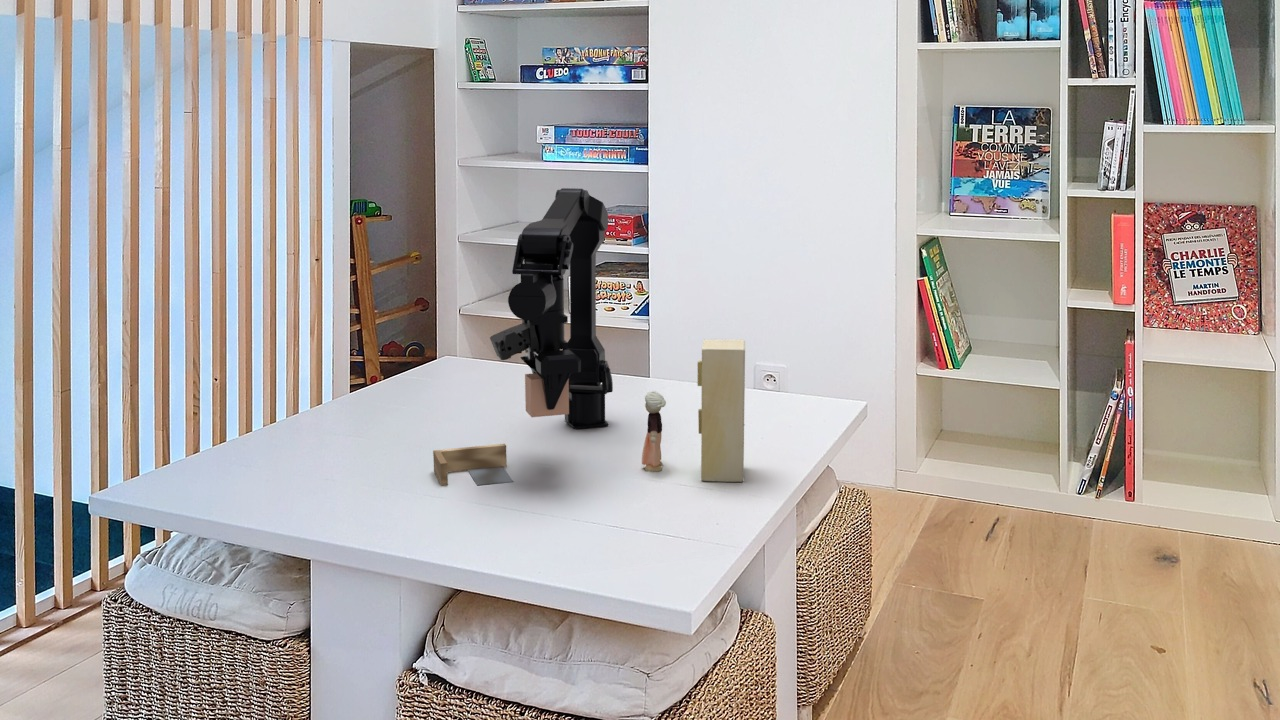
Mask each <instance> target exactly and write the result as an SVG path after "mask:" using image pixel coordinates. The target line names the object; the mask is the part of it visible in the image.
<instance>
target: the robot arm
mask: <svg viewBox="0 0 1280 720" xmlns="http://www.w3.org/2000/svg"><path fill="white" fill-rule="evenodd" d="M588 191H589V190H586V189H584V188H578V187H577V188H575V187H574V188H573V187H572V188H570V187H569V188H568V187H567V188H565V187H562V188H560V189H557V190H556V192H555V198H554V199H553V202H552V203H551V205H550V206H549V208H548V210H546V213H545V214H544V216H543V217H542V219H541V220H537V221H534V222H530V223H529V224H527V225H526V226H525V227H524V228H523V230H522V232H521V233H519V235H518V237H517V243H516V249H515V255H514V260H513V264H512V269H511V270H512V271H511V272H512V274H513V275H520V282H519V283H517V284H516V285H514V286H513V287H512V288H511V290H510V292H509V295H508V298H507V304H508V308H509V309H510V311H511V313H512V314H513V315H514V316H515V317H516V318H518V319H520V320H521V321H522V323H520V324H517V325H514V326H512V327H509V328H506V329H503V330H502V331H499V332H497V333H495V334H492V335H491V336H489V340H490V342H491V346H492V347H493V348H494V350H493V351H494V352H495V353H496V354H495V355H496V356H497V357H498V358H499V360H501V361H506V360H508V359H509V360H510V359H511V358H512V357H513V356H515V355H517V354H522V353H523V351H525V356H524V355H523V356H520V358H519V359H520V360H521V361H523V363H525V364H526V366H528V367H529V368H530V370H531V374H533V373H537V374H538V375H539V376H540V377H541V379H542V385H543V390H544V396H545V401H546V406H547V409H548V410H553V409H554V408H555V406H556V404H557V402H558V400H559V397H560V395H561V393H562V391H563V389H564V386H565V384H566V382H567V380H568V378H569V414H565V415H564V421H566V423H567V424H568V425H569V426H570V427H571V428H573V429H575V430H578V429H589V428H599V427H609V422H608V421H606V395H607V394H608V393H612V392H614V390H613V389H614V388H613V387H614V386H613V377H612V372H611V368H610V365H609V362H608V360H606V350H605V348H604V347H603V345H602V343H601V341H600V340H599V338H598V336H597V333H596V332H597V331H596V330H597V329H596V328H597V324H596V323H597V319H596V318H597V317H596V315H597V313H596V312H597V306H596V305H597V300H596V299H597V297H596V296H597V293H596V291H597V289H596V287H597V285H596V284H597V283H596V282H597V280H596V277H597V272H596V269H597V265H596V261H597V252H598V251H599V249H600V247H601V245H602V244H603V243H604V240H605V239H606V231H607V230H608V227H609V213H608V209H607V207H606V206H605V203H604V202H603V201H601V200H599V199H597V198H595V197H593V196H591V195H590V194H589V192H588ZM567 270H569V290H570V291H569V308H570V311H569V316H570V317H569V316H567V315H566V314H565V289H564V288H565V287H564V286H565V285H564V283H565V282H564V275H565V273H566V271H567ZM568 317H569V319H570V321H569V324H570V325H569V327H570V328H569V331H570V332H569V335H570V336H569V339H568V341H566V340H565V324H568Z"/></svg>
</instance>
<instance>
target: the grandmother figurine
mask: <svg viewBox="0 0 1280 720" xmlns="http://www.w3.org/2000/svg"><path fill="white" fill-rule="evenodd" d="M644 397H645V398H644V401H645V404H644V407H645V410H646V411H647V413H648V416H647V430H646V431H647V432H646V435H645V439H644V443H643V449H642V454H641V455H642V456H641V465H642V466H643V465H644V466H645V468H644V471H645V472H649V473H650V472H653V473H654V472H661V471H663V466H664V465H663V462H662V461H661V460H662V449H661V447H662V446H661V444H662V433H663V432H662V431H663V421H662V415H661V413H660V411H661V409H662V408H664V407H666V404H667V402H666V400H665V398H664V396H663V395H662V394H661V393H659V392H658V391H656V390H650V391H648V392H647V393H646V394H645V395H644Z"/></svg>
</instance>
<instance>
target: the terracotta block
mask: <svg viewBox="0 0 1280 720" xmlns="http://www.w3.org/2000/svg"><path fill="white" fill-rule="evenodd" d="M524 391H525V392H524V394H525V395H524V396H525V412H526V413H527V414H528V415H529V416H530V417H531V418H540V417H541V418H543V417H550V416H551V417H552V416H565V414H569V378H568V380H567V382H566V384H565V386H564V389H563V391H562V393H561V395H560V397H559V400H558V402H557V404H556V406H555V408H554V409H553V410H548V409H547V406H546V401H545V396H544V390H543V385H542V379H541V377H540V376H539V375H538V374H537V373H525V374H524Z"/></svg>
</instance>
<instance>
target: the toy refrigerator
mask: <svg viewBox="0 0 1280 720" xmlns="http://www.w3.org/2000/svg"><path fill="white" fill-rule="evenodd" d="M745 372H746V340H745V339H738V338H737V339H733V338H732V339H730V338H729V339H727V338H725V339H723V338H720V339H719V338H718V339H717V338H714V339H713V338H705V339H703V341H702V347H701V360H698V361H697V386H698V387H701V408H698V410H697V411H698V412H697V413H698V434H701V436H700V437H701V439H700V441H701V442H700V443H701V444H700V445H701V448H700V449H701V453H700V454H701V458H700V459H701V461H700V463H701V466H700V469H701V470H700V479H701V481H702V482H727V483H729V482H730V483H734V482H735V483H742V482H744V471H745V470H744V465H745V463H744V461H745V460H744V459H745V396H746V395H745V392H746V391H745V390H746V389H745V388H746V387H745V386H746V383H745V382H746V381H745V380H746V377H745V376H746V375H745V374H746V373H745Z"/></svg>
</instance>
